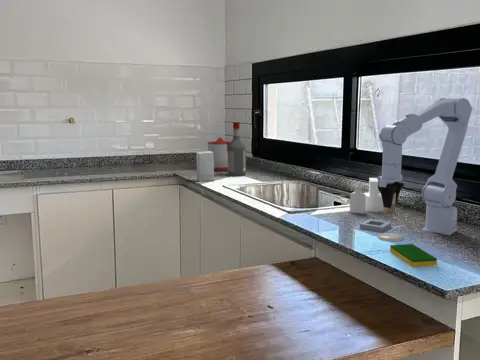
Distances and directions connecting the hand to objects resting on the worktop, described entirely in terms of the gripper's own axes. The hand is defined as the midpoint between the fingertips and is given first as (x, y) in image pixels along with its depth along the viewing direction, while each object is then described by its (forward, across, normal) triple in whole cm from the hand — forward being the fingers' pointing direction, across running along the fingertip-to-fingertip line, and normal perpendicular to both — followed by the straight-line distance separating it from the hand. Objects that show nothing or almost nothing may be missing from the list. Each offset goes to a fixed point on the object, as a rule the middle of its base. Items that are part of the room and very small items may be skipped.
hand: (389, 206), depth 159 cm
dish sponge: (+11, +15, +13) cm, 23 cm away
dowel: (+2, 0, 0) cm, 2 cm away
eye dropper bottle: (+11, -26, -22) cm, 36 cm away
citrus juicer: (+11, -82, -137) cm, 160 cm away
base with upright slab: (+11, -36, -21) cm, 42 cm away
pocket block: (+10, -8, -8) cm, 15 cm away
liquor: (+11, -71, -117) cm, 137 cm away
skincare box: (+11, -47, -120) cm, 129 cm away
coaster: (+10, +1, +1) cm, 10 cm away
